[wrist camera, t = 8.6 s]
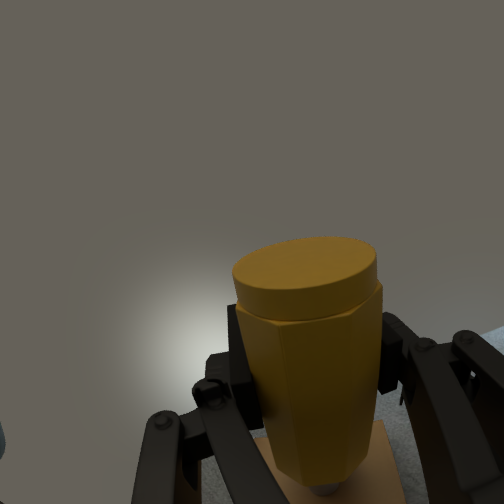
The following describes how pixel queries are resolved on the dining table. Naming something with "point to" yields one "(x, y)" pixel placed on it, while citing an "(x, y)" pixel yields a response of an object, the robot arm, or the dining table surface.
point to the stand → (356, 485)
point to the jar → (313, 351)
